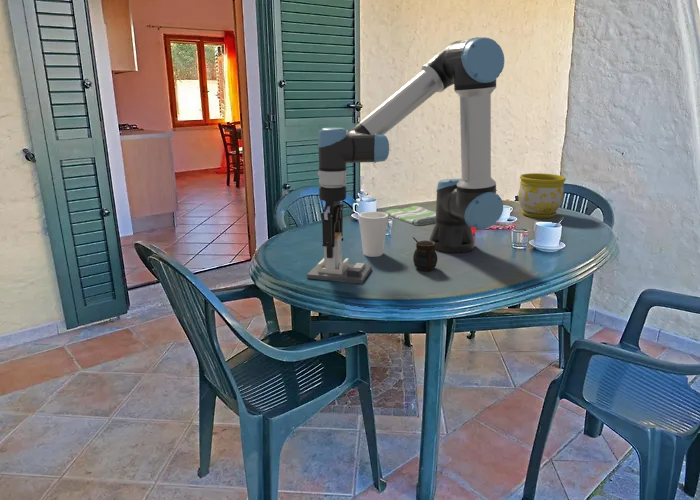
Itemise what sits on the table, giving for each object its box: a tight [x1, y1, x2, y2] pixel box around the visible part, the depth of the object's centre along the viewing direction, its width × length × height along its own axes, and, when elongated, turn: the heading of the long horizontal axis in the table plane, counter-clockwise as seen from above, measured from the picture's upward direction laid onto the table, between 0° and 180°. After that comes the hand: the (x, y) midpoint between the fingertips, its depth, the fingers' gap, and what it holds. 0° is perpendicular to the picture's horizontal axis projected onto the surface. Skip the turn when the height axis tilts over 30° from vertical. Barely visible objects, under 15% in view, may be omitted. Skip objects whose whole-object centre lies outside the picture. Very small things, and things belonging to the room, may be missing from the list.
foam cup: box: [358, 211, 389, 258], centre depth 164 cm, size 10×9×13 cm
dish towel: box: [384, 205, 436, 226], centre depth 213 cm, size 17×23×4 cm
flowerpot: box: [517, 172, 567, 219], centre depth 215 cm, size 18×18×16 cm
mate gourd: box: [412, 237, 439, 272], centre depth 151 cm, size 7×8×10 cm
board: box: [306, 257, 373, 284], centre depth 147 cm, size 16×12×4 cm
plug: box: [323, 232, 343, 269], centre depth 146 cm, size 4×4×10 cm
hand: (333, 265), depth 148 cm, fingers closed on plug, 4 cm apart
